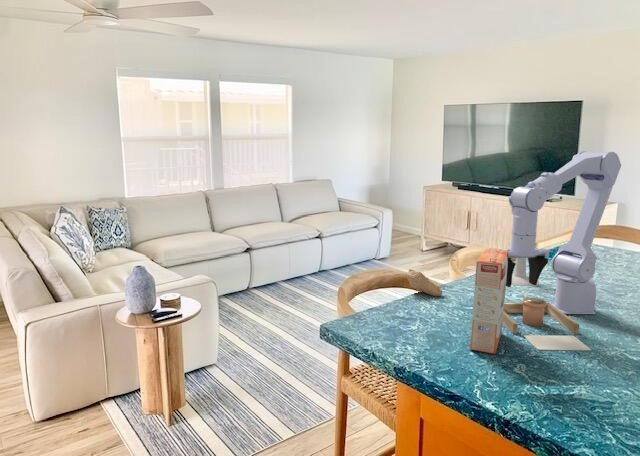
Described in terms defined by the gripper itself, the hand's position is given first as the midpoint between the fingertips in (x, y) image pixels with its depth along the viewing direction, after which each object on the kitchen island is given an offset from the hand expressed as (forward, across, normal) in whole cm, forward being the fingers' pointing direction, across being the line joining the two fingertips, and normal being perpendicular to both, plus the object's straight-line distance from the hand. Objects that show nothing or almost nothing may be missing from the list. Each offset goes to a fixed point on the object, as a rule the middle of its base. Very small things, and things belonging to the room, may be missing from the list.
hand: (520, 284), depth 126 cm
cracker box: (+10, +16, +11) cm, 22 cm away
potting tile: (+10, +1, +16) cm, 18 cm away
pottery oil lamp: (+10, +14, -26) cm, 32 cm away
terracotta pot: (+10, -2, +3) cm, 10 cm away
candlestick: (+10, -22, -30) cm, 38 cm away
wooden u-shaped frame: (+10, -2, +2) cm, 10 cm away
